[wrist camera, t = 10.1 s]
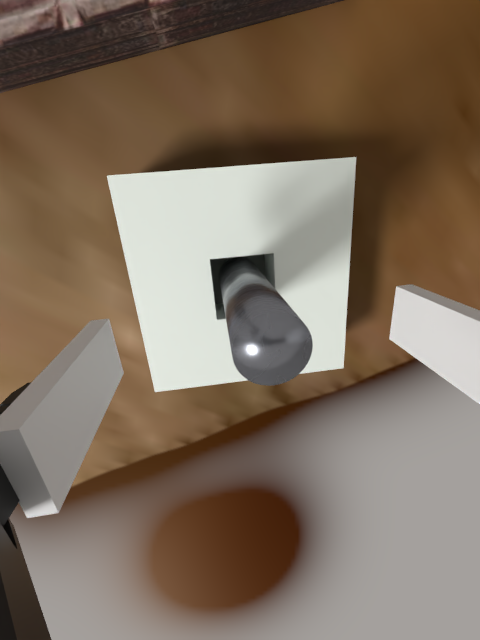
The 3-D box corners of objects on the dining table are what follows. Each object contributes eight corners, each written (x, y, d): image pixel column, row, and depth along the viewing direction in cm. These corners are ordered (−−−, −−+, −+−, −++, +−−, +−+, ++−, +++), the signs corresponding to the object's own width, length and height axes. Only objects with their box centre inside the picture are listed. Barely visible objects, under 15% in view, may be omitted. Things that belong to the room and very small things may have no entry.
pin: (216, 258, 24) (228, 316, 11) (257, 254, 24) (313, 307, 11) (221, 297, 25) (235, 389, 12) (259, 293, 26) (312, 380, 13)
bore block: (127, 182, 22) (106, 175, 18) (327, 167, 24) (356, 157, 19) (163, 362, 28) (154, 392, 24) (321, 342, 29) (343, 368, 25)
